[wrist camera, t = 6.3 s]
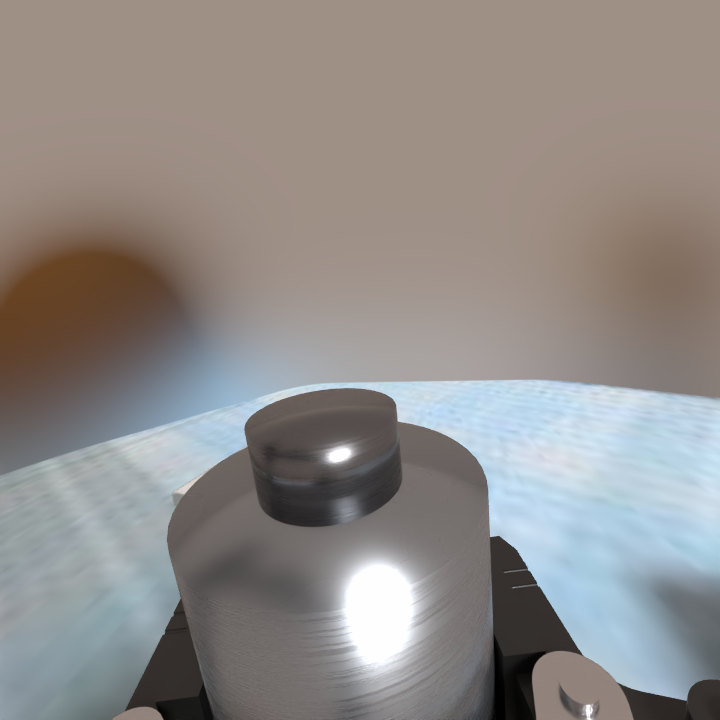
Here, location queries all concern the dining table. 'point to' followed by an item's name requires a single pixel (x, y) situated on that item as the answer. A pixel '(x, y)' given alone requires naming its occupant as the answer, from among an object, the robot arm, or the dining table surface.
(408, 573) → the cylinder
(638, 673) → the dining table surface
